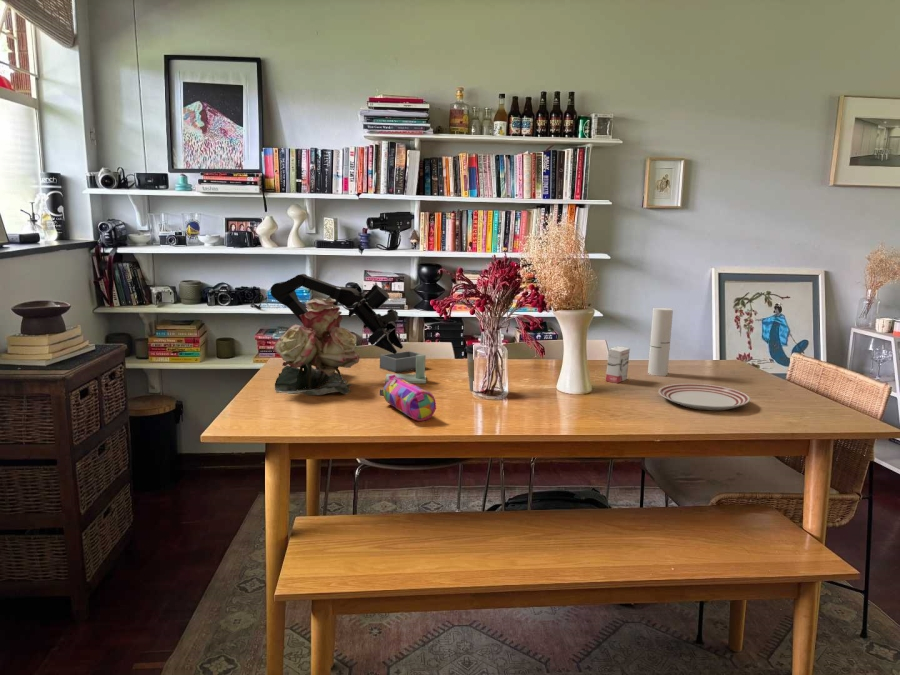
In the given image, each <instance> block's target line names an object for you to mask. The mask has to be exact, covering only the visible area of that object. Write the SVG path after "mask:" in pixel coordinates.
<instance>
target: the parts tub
mask: <svg viewBox="0 0 900 675" xmlns="http://www.w3.org/2000/svg"><path fill="white" fill-rule="evenodd" d="M419 354H421V355H424V354H422V353H419V352H414V351H411V350H407V351H400V352H398V351H397V353H396V354H394V353H391V352H390V353H386V354H385V353H383V354H379V368H380V369H383V370H386V371H387V372H388V371H389V372H391V373H393V374H399V373H404V372H410V371H416V355H419Z"/></svg>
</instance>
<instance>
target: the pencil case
mask: <svg viewBox="0 0 900 675" xmlns="http://www.w3.org/2000/svg"><path fill="white" fill-rule="evenodd" d="M389 379H390V381H389V382H388V383H385V385H384V387H383V389H380V390H379V396H381V397H383V399H384V401H386V403H387V404H390V405H391V406H392V407H394V408H395V409H396V410H398V411H400V412H401V413H403V414H404V415H406V416H408V417H410V419H412V420H414V421H418V422H423V421H427V420H429V419H430V418H431V417H432V416H433V415H434V413H435V412H436V409H437V403H436V402H437V401H436V398H435V396H434V395H433V394H432V393H431V392H430V391H427V390H425V389H422V388H421V387H419V385H416V384H415V383H408V382H407V381H406V380H405V379H403V378H400V377H396V376H395V375H391V376H389Z"/></svg>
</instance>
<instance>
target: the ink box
mask: <svg viewBox="0 0 900 675" xmlns="http://www.w3.org/2000/svg"><path fill="white" fill-rule="evenodd" d="M630 351H631V348H630V347H626V346H619V345H617V346H615V347H611V348H609V349H608V353H607V364H606V374H605V382H609V383H614V384H619V383H621V382H623V381H626V380H627V379H628V373H629V372H628V371H629V359H630Z"/></svg>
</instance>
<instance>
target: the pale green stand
mask: <svg viewBox="0 0 900 675" xmlns="http://www.w3.org/2000/svg"><path fill="white" fill-rule="evenodd" d="M421 354H422V353H419V355H416V370H415V374H413V373H409V374H408V373H406V374H405V373H404V374H403V373H402V374H401V373H386V374H385V380H384V382H385V384H387V383H388V382H389V381H390V379H389V376H391V375H395V376H396V377H400V378H403V379H405V380H406V381H407V382H408V383H410V384H427V376H426V354H423V355H421Z"/></svg>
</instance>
